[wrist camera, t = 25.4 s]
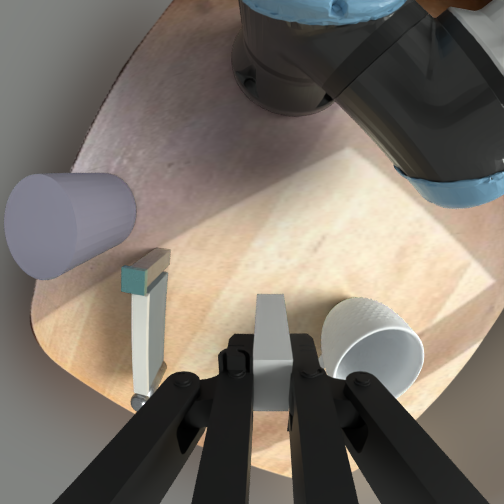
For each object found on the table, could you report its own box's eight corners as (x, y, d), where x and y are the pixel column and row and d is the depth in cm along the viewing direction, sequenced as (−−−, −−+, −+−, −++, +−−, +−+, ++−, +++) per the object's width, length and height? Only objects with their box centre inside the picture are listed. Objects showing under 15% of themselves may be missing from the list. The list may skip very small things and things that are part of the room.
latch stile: (154, 245, 39) (121, 267, 29) (173, 247, 39) (145, 271, 29) (153, 263, 40) (121, 291, 30) (171, 266, 40) (144, 296, 30)
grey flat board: (164, 360, 43) (147, 396, 34) (153, 357, 43) (134, 392, 34) (169, 272, 40) (147, 296, 31) (156, 270, 40) (131, 293, 31)
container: (74, 173, 37) (3, 176, 23) (138, 172, 37) (77, 171, 23) (75, 244, 40) (8, 274, 25) (137, 250, 40) (80, 286, 25)
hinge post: (150, 356, 43) (126, 398, 33) (168, 359, 43) (147, 404, 33) (150, 370, 44) (128, 413, 34) (167, 374, 44) (148, 419, 34)
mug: (329, 381, 44) (348, 440, 31) (277, 345, 42) (283, 405, 30) (398, 313, 41) (440, 357, 28) (350, 267, 40) (387, 305, 27)
